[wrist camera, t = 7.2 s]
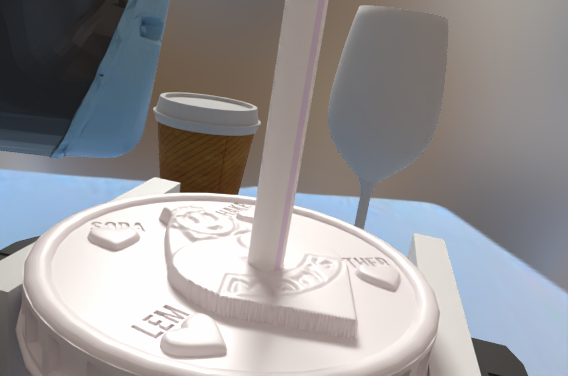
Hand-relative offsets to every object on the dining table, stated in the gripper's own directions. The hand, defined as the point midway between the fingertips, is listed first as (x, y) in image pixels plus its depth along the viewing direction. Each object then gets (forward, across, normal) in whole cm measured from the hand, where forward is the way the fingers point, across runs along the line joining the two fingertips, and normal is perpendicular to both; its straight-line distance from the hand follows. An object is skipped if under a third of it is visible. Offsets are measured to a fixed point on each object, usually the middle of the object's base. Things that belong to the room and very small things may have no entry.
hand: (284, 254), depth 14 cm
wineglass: (+24, +2, -13) cm, 27 cm away
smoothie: (-5, 0, -8) cm, 9 cm away
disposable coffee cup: (+31, -13, -13) cm, 36 cm away
